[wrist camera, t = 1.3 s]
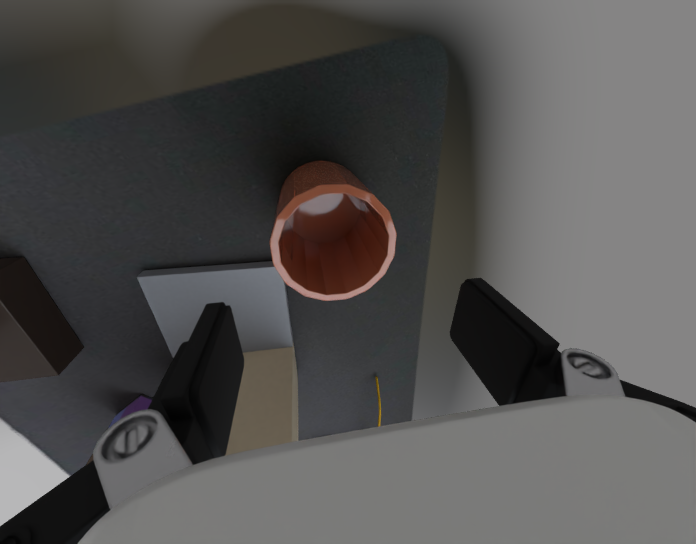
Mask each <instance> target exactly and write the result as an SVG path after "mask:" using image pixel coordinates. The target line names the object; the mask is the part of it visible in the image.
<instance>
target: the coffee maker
mask: <svg viewBox="0 0 696 544" xmlns="http://www.w3.org/2000/svg"><path fill="white" fill-rule="evenodd" d="M137 279H138V281H139V283H140V286H141V288H142V290H143V292H144V294H145V297H146V299H147V301H148V303H149V306H150V308H151V310H152V312H153V314H154V317H155V319H156V321H157V323H158V326H159V328H160V330H161V332H162V334H163V337H164V339H165V341H166V343H167V346H168V348H169V350H170V352H171V354H172V357H173V358H174V356H175V354H176V353H177V351H178V349H179V347H180V345H181V344H182V343H183V342H187V341H188V340H189V338H190V336H191V334H192V332H193V330H194V328H195V326H196V324H197V322H198V320H199V318H200V316H201V314H202V312H203V310H204V308H205V305H206V304H208V303H218V302H224V303H225V305H226V306H227V305H230V307H231V309H232V313H233V317H234V321H235V325H236V329H237V332H238V336H239V340H240V344H241V348H242V352H243V356H244V369H243V374H242V379H241V384H240V388H239V393H238V398H237V403H236V408H235V412H234V417H233V422H232V427H231V432H230V437H229V441H228V446H227V451H226V454H225V456H226V455H230V454H234V453H239V452H243V451H248V450H253V449H259V448H264V447H269V446H274V445H279V444H284V443H289V442H294V441H298V373H297V366H296V358H295V351H294V343H293V336H292V328H291V321H290V313H289V305H288V298H287V290H286V283H285V282H284V281H283V279H282V278H281V276H280V274H279V273H278V271H277V270H276V268H275V267H274V265H273V262H272V261H267V262H254V263H240V264H226V265H212V266H199V267H185V268H171V269H157V270H144V271H142V272H141V273H140V274H139V275H138V277H137Z"/></svg>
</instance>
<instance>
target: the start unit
mask: <svg viewBox="0 0 696 544" xmlns="http://www.w3.org/2000/svg"><path fill="white" fill-rule="evenodd" d="M83 348H84V347H83V345H82V344H81V342H80V341H79V339H78V338H77V336H76V335H75V333H74V332H73V330H72V329H71V327H70V326H69V324H68V323H67V321H66V320H65V318H64V317H63V315H62V314H61V312H60V311H59V309H58V308H57V306H56V305H55V303H54V302H53V300H52V299H51V297H50V296H49V294H48V293H47V291H46V289H45V288H44V286H43V285H42V283H41V282H40V280H39V279H38V277H37V276H36V274H35V273H34V271H33V270H32V268H31V267H30V265H29V264H28V262H27V261H26V259H25V258H24V257H14V258H0V382H7V381H16V380H24V379H33V378H41V377H49V376H58V375H59V374H60V373H61V372H62V371H63V370H64V369H65V368H66V367H67V366H68V364H69V363H70V362H71V361H72V360H73V359H74V358H75V357H76V356H77V355H78V354H79V352H80V351H81V350H82V349H83Z"/></svg>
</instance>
